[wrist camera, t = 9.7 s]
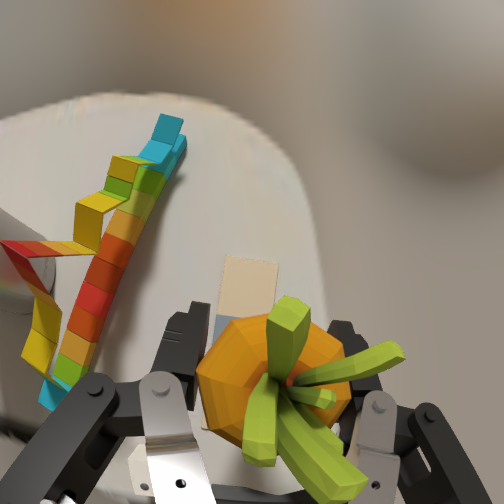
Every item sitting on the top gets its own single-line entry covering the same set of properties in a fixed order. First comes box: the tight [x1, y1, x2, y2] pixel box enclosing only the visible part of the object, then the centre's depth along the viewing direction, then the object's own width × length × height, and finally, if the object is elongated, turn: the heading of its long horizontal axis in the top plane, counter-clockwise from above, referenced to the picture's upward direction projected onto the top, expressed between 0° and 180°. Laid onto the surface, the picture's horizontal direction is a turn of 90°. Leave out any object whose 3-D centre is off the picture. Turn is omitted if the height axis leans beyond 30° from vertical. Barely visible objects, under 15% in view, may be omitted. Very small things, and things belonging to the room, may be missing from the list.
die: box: [128, 444, 155, 497], centre depth 20 cm, size 4×4×4 cm
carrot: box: [195, 296, 406, 504], centre depth 11 cm, size 5×5×15 cm
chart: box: [0, 114, 187, 412], centre depth 20 cm, size 30×3×15 cm, turn 161°
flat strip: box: [201, 256, 278, 429], centre depth 26 cm, size 5×16×1 cm, turn 172°
